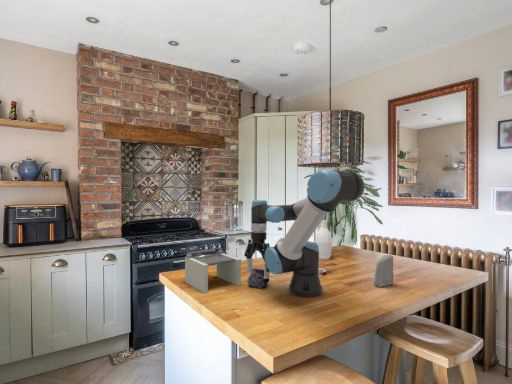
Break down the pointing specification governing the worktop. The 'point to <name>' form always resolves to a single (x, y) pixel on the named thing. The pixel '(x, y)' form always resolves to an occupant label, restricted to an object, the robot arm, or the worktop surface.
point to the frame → (199, 272)
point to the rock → (257, 278)
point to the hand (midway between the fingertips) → (257, 274)
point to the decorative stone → (384, 271)
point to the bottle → (324, 241)
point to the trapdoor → (210, 257)
